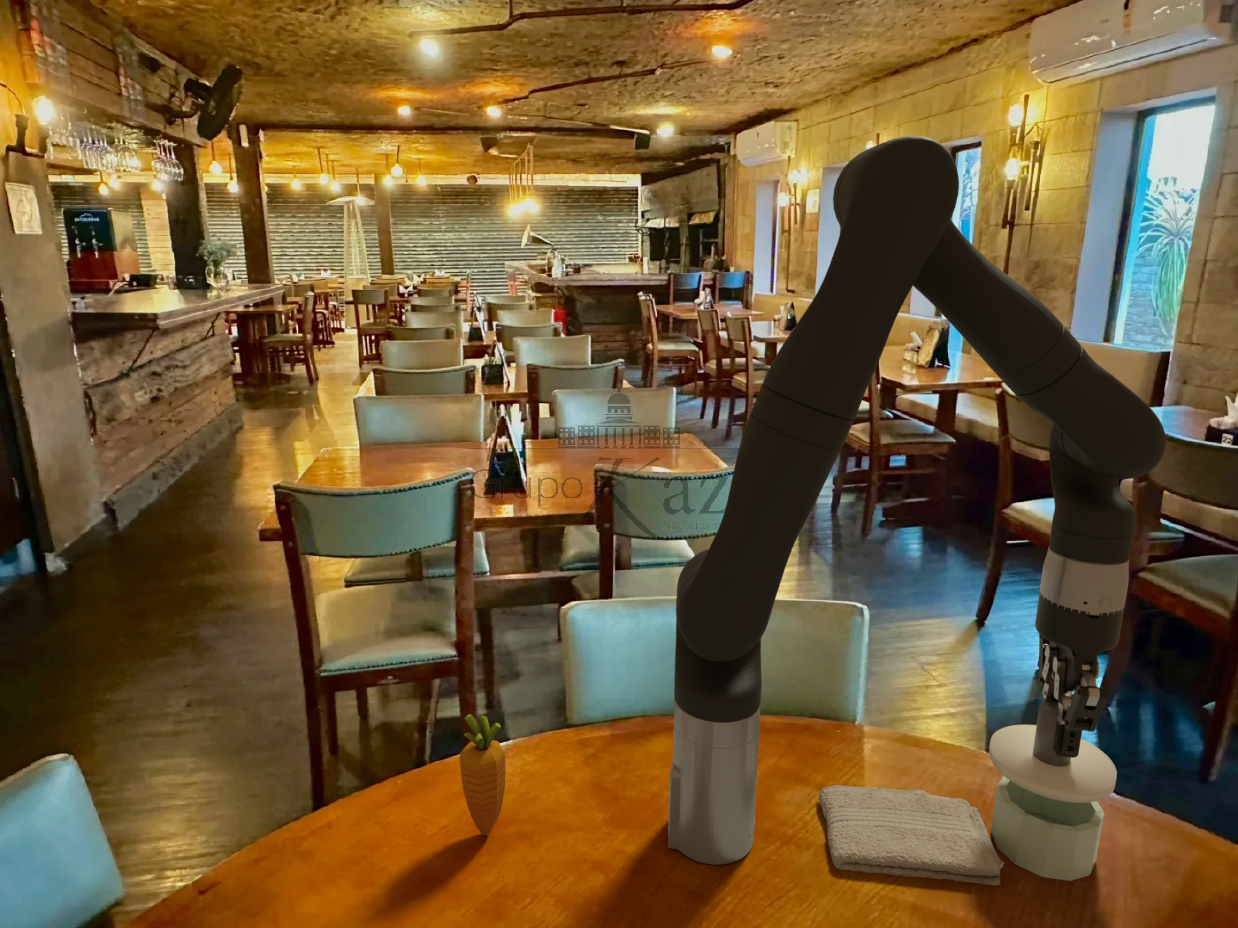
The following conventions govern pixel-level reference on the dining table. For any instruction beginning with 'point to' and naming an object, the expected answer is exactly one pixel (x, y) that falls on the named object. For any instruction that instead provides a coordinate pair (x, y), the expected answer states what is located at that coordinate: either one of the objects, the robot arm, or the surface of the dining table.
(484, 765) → the carrot
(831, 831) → the washcloth
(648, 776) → the dining table surface
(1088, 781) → the lid
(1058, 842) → the cup
